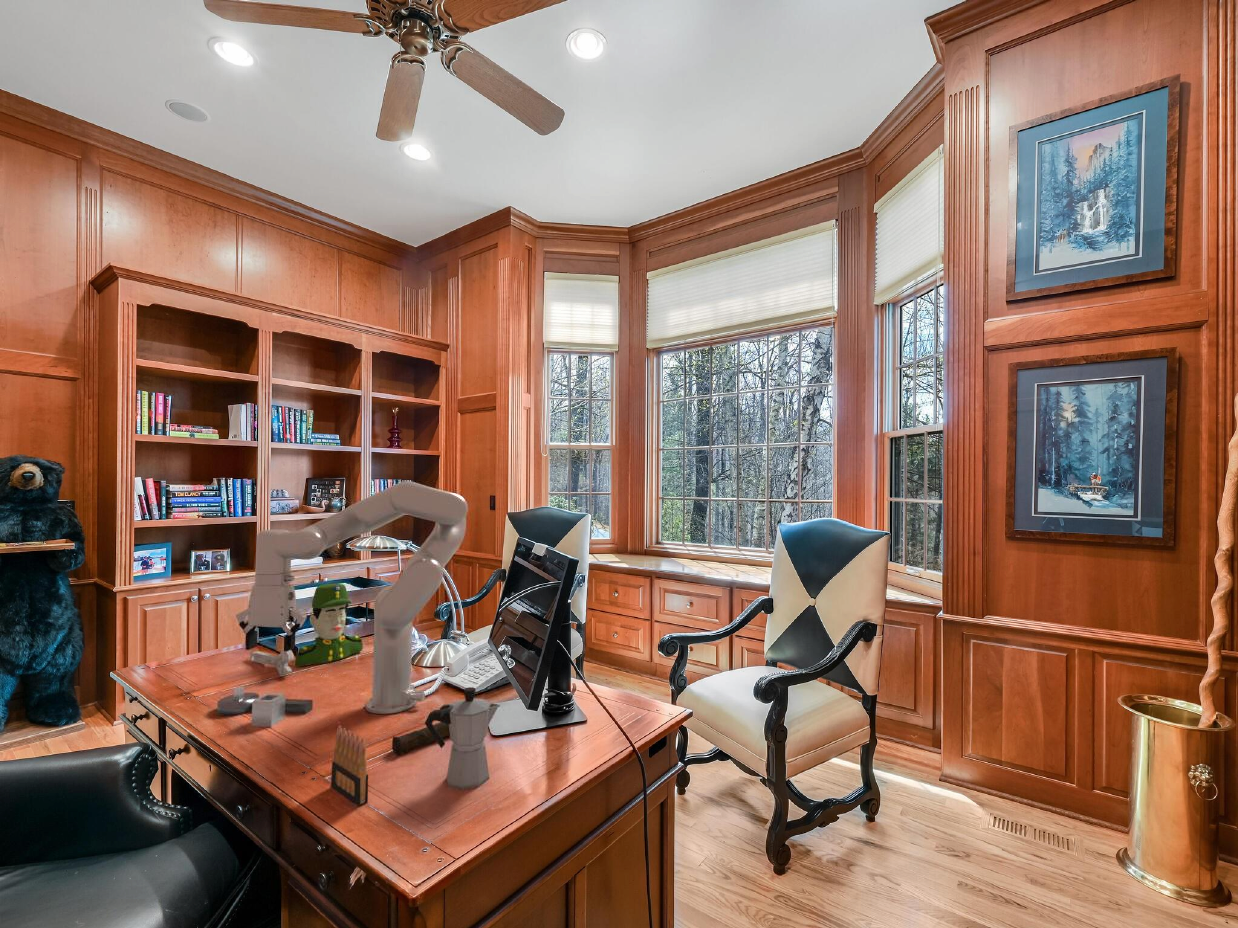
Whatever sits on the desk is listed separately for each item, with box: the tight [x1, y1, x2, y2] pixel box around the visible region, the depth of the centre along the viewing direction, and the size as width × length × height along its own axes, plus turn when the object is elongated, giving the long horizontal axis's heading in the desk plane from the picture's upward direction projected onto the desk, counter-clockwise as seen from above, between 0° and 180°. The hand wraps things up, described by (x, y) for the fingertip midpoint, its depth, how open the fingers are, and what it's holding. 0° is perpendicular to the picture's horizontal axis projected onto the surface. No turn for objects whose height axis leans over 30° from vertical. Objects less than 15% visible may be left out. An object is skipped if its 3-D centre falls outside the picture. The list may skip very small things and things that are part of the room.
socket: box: [251, 693, 286, 728], centre depth 140 cm, size 5×5×6 cm
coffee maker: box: [424, 686, 501, 790], centre depth 115 cm, size 15×9×18 cm, turn 112°
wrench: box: [249, 649, 295, 677], centre depth 179 cm, size 8×2×30 cm
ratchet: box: [216, 685, 314, 717], centre depth 148 cm, size 24×9×6 cm, turn 87°
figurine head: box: [294, 583, 364, 667], centre depth 189 cm, size 22×12×25 cm, turn 143°
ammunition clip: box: [330, 724, 369, 807], centre depth 109 cm, size 11×2×12 cm, turn 52°
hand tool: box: [391, 722, 450, 757], centre depth 132 cm, size 19×4×5 cm, turn 135°
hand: (270, 649), depth 141 cm, fingers open, 9 cm apart
